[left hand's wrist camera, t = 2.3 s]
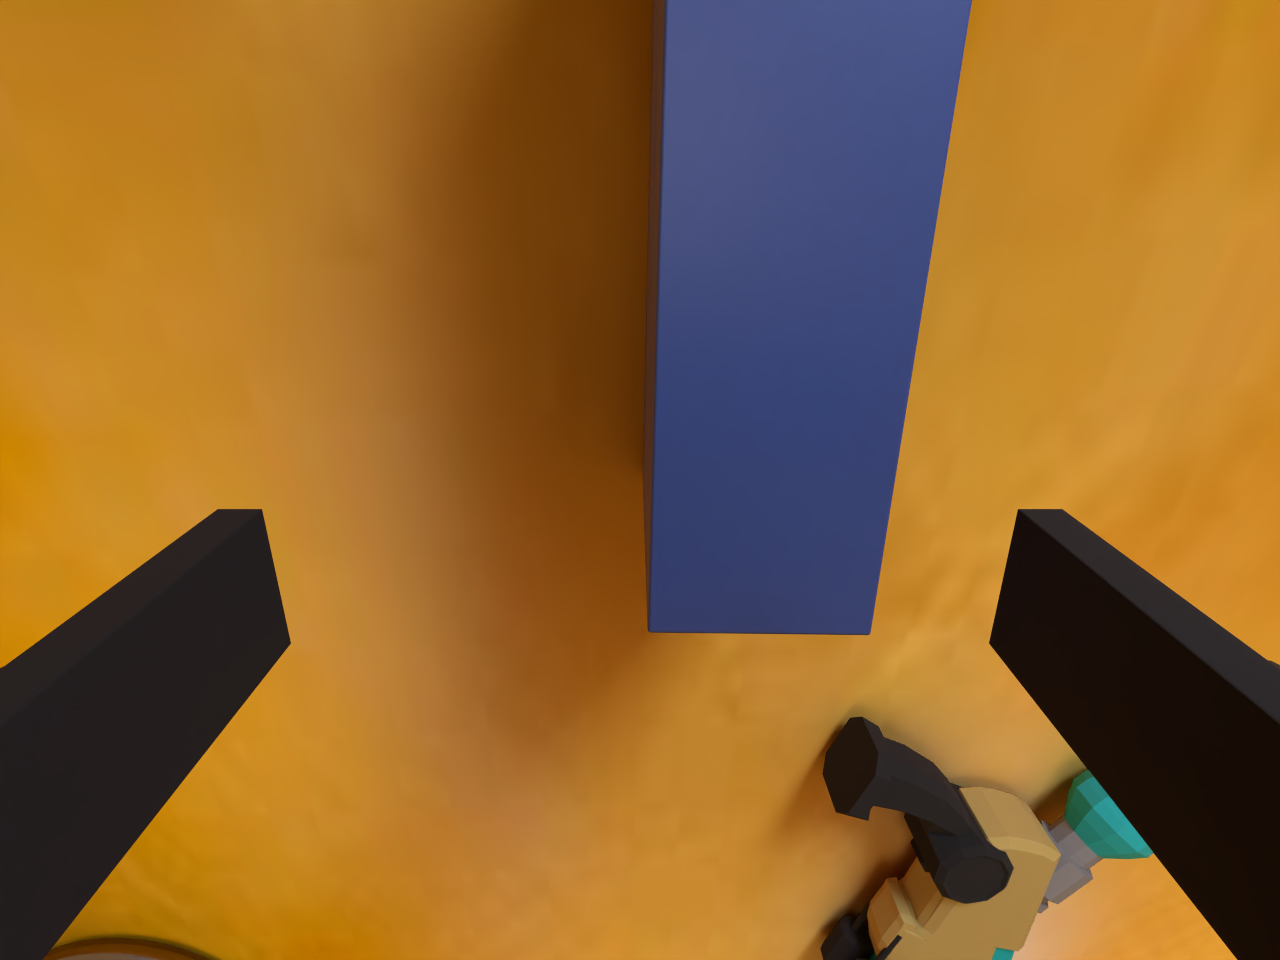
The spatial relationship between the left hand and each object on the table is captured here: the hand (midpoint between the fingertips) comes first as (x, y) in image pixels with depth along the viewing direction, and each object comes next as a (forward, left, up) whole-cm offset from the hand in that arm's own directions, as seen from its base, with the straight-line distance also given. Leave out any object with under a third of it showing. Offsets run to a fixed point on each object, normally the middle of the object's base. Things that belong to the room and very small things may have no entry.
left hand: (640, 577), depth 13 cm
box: (+7, -3, -16) cm, 18 cm away
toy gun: (-26, -14, -16) cm, 34 cm away
